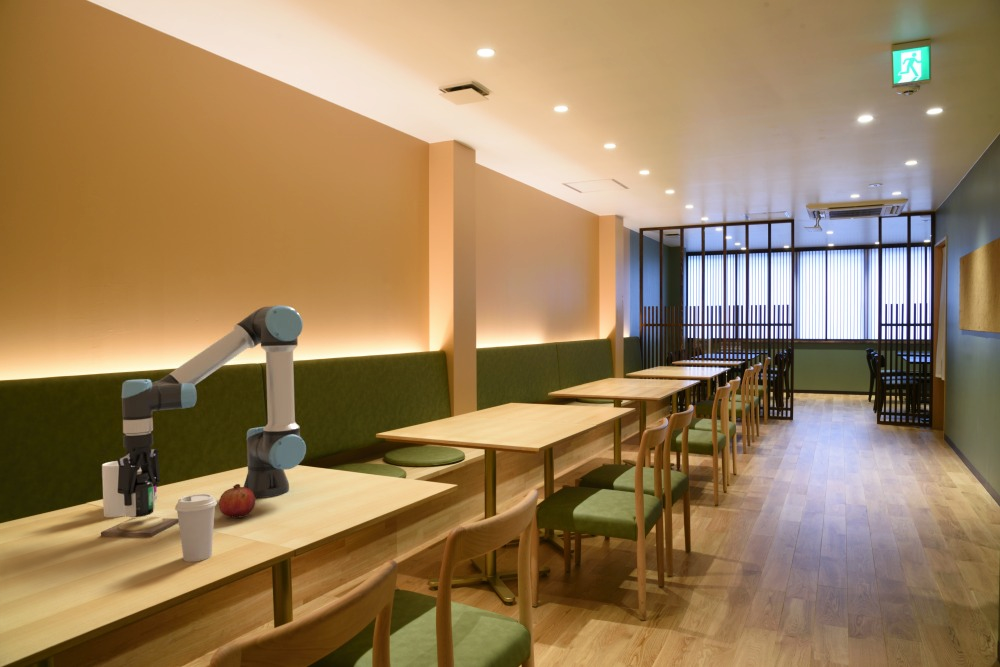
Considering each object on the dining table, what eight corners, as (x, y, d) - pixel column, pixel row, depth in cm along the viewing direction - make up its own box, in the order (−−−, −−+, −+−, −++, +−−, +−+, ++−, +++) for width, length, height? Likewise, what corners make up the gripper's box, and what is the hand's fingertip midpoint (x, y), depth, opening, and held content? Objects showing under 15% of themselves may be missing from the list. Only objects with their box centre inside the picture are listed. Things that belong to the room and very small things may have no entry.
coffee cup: (185, 551, 166) (183, 493, 166) (223, 549, 167) (222, 491, 167) (170, 565, 157) (168, 503, 156) (210, 562, 157) (208, 502, 157)
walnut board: (179, 522, 191) (178, 515, 191) (151, 536, 178) (150, 529, 178) (132, 522, 193) (131, 515, 193) (100, 536, 180) (100, 529, 180)
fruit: (261, 516, 195) (260, 484, 195) (229, 524, 188) (228, 490, 188) (245, 510, 203) (244, 478, 202) (213, 518, 195) (212, 485, 195)
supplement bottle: (158, 513, 186) (157, 471, 186) (133, 519, 181) (132, 476, 181) (146, 509, 190) (145, 469, 190) (122, 515, 185) (121, 473, 185)
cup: (139, 511, 204) (138, 461, 204) (114, 518, 197) (113, 466, 197) (122, 508, 208) (121, 459, 208) (97, 515, 200) (96, 464, 200)
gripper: (150, 427, 196) (152, 502, 196) (99, 439, 176) (102, 522, 176) (172, 427, 194) (174, 503, 195) (124, 439, 175) (126, 523, 175)
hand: (140, 512), depth 186 cm, fingers closed on supplement bottle, 7 cm apart
